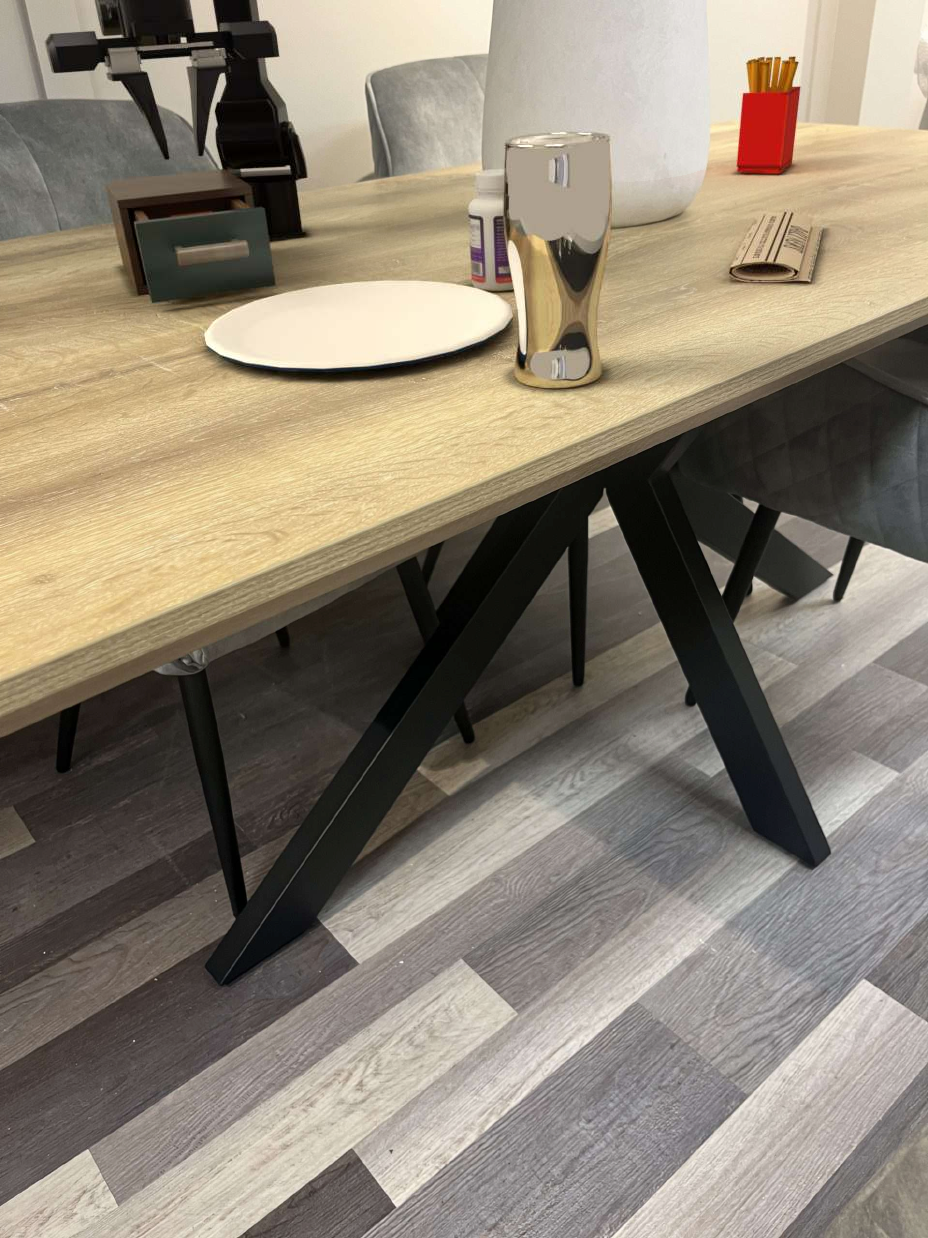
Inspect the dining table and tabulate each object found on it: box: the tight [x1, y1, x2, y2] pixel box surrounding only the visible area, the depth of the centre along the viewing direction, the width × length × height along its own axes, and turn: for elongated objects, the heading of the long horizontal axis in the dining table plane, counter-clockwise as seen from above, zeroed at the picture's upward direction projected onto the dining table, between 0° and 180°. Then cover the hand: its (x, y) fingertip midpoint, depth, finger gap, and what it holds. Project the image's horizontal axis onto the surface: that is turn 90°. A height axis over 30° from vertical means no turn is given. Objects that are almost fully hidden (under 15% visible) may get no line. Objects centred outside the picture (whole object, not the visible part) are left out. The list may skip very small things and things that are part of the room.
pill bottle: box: [467, 168, 514, 292], centre depth 90 cm, size 5×5×10 cm
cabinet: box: [104, 168, 254, 296], centre depth 102 cm, size 15×13×9 cm
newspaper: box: [727, 211, 824, 283], centre depth 97 cm, size 24×7×2 cm, turn 161°
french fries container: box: [736, 55, 802, 174], centre depth 138 cm, size 7×9×14 cm
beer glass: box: [503, 131, 613, 389], centre depth 65 cm, size 7×7×15 cm
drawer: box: [130, 196, 277, 304], centre depth 93 cm, size 18×11×7 cm, turn 22°
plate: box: [203, 279, 514, 373], centre depth 81 cm, size 25×25×1 cm
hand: (183, 157), depth 89 cm, fingers open, 3 cm apart
